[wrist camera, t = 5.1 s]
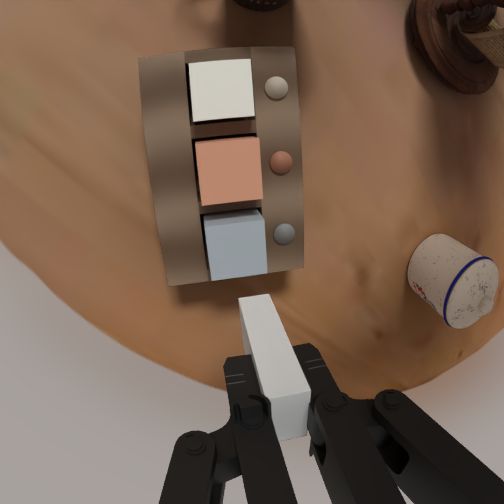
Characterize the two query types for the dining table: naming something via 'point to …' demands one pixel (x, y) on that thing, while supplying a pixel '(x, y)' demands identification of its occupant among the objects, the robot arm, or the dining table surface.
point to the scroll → (460, 41)
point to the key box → (188, 132)
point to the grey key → (235, 243)
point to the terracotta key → (229, 169)
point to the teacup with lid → (453, 279)
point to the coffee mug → (261, 4)
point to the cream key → (221, 89)
